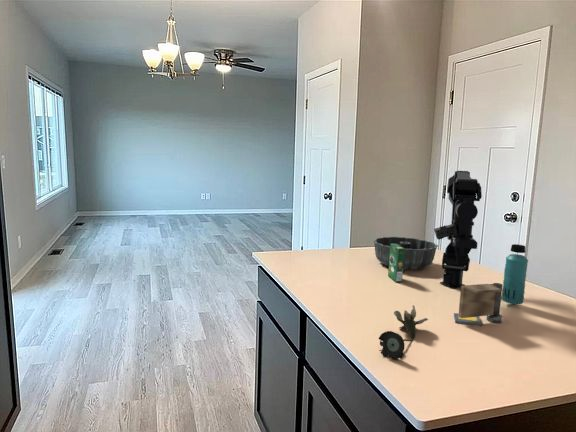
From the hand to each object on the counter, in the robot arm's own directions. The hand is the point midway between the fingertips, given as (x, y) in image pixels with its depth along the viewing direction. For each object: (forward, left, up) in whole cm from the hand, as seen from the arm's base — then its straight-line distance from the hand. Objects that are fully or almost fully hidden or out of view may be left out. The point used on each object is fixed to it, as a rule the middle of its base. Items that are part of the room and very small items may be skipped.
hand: (459, 265), depth 141 cm
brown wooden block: (+9, +18, -10) cm, 22 cm away
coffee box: (+3, -26, -12) cm, 29 cm away
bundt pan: (-15, -41, -12) cm, 46 cm away
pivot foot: (+3, +17, -12) cm, 21 cm away
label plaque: (+11, +13, -12) cm, 21 cm away
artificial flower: (+38, +16, -12) cm, 42 cm away
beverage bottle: (-13, +11, -12) cm, 21 cm away
